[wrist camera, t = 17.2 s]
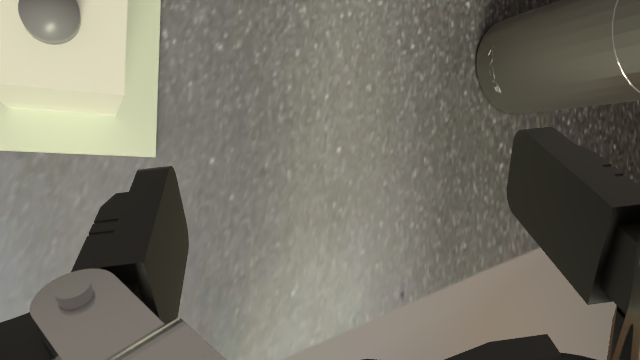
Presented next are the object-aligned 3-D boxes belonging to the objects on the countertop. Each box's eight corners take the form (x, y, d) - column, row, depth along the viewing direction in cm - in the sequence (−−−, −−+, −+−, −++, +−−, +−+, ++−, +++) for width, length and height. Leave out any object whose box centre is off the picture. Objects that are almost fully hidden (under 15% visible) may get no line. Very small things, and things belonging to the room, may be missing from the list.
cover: (119, 22, 36) (130, -48, 24) (115, 115, 36) (125, 92, 24) (12, 7, 34) (-36, -80, 21) (9, 107, 34) (-41, 76, 22)
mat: (159, -9, 38) (161, -13, 37) (154, 157, 38) (155, 156, 37) (-37, -41, 33) (-41, -46, 32) (-42, 148, 34) (-46, 148, 33)
